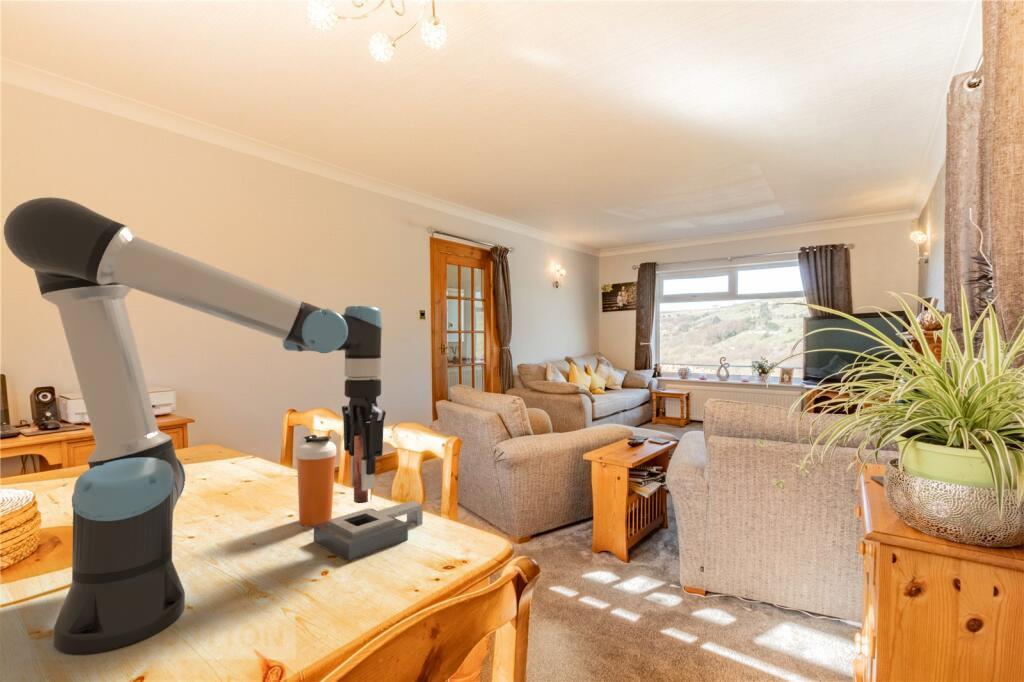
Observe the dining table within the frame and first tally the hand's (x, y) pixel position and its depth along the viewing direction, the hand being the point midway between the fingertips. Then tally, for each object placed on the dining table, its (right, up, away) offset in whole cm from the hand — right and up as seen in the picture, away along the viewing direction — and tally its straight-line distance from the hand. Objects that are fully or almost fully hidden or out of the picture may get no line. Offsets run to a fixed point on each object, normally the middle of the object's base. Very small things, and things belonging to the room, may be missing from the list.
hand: (362, 486), depth 102 cm
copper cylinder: (0, -3, 0) cm, 3 cm away
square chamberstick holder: (0, -11, 0) cm, 11 cm away
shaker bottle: (-15, -12, +11) cm, 22 cm away
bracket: (+3, -12, +4) cm, 12 cm away
